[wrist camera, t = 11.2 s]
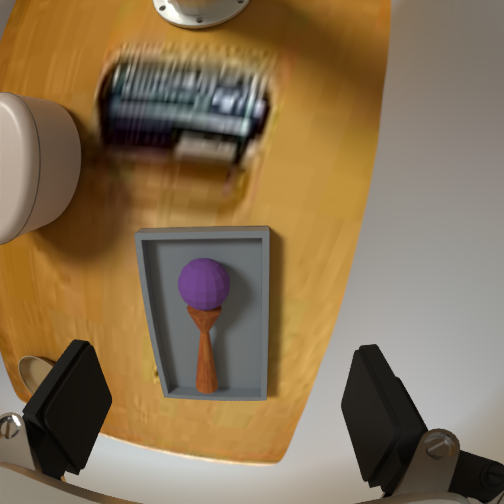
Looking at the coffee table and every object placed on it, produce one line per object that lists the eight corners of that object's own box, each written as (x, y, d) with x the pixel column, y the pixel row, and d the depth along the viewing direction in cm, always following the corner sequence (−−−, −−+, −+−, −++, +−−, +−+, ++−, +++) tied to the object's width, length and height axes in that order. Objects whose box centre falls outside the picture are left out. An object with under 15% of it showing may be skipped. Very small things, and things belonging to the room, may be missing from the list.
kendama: (180, 394, 38) (168, 267, 31) (194, 368, 44) (188, 247, 36) (221, 404, 37) (222, 275, 30) (231, 376, 43) (236, 253, 35)
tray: (141, 228, 36) (134, 233, 33) (268, 225, 36) (269, 230, 33) (167, 386, 44) (164, 397, 41) (265, 389, 44) (266, 400, 41)
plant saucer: (55, 409, 47) (50, 416, 45) (13, 355, 43) (7, 362, 41) (98, 403, 46) (93, 412, 43) (51, 341, 42) (44, 349, 39)
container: (-7, 134, 31) (-59, 137, 19) (74, 78, 29) (21, 60, 18) (17, 238, 36) (-33, 263, 25) (102, 202, 35) (50, 222, 24)
